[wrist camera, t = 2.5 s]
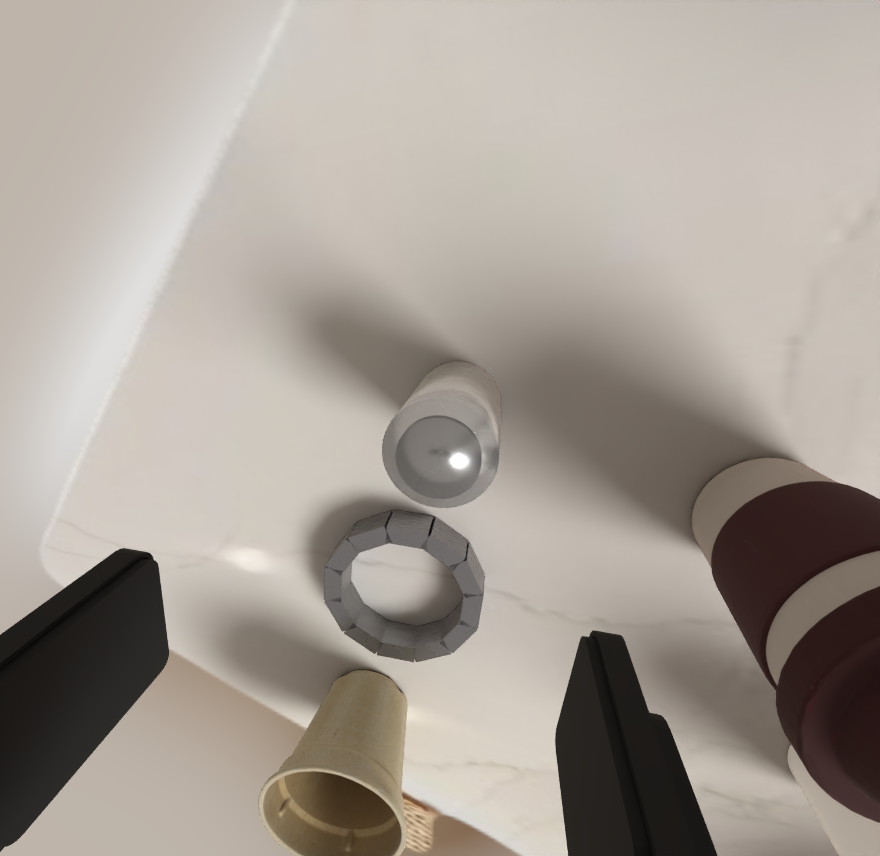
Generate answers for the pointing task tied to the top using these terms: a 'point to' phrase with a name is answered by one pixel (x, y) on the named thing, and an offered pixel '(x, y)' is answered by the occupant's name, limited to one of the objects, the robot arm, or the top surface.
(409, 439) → the piston
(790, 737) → the coffee cup
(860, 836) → the cup
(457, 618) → the collar
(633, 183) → the top surface
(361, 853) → the flower pot
